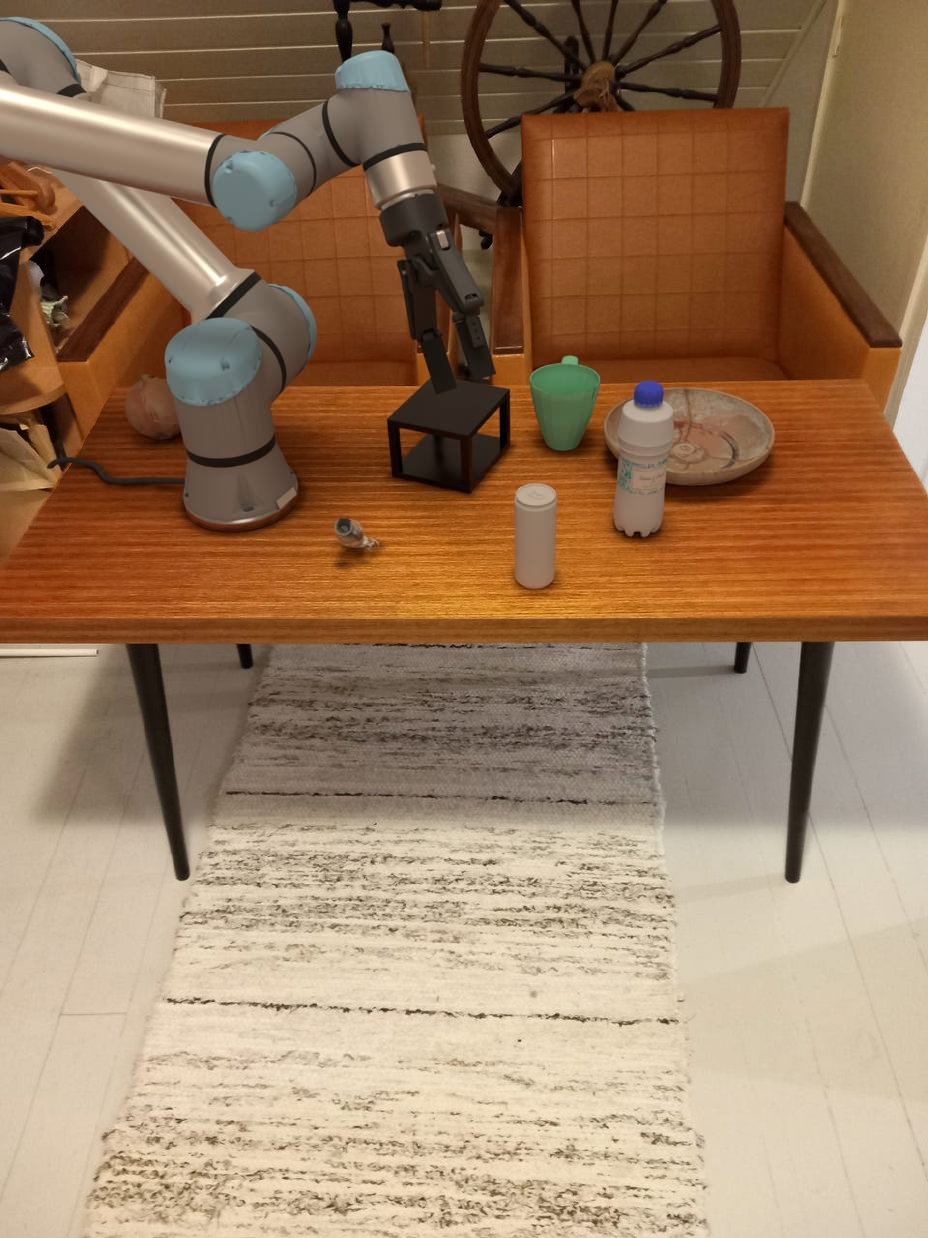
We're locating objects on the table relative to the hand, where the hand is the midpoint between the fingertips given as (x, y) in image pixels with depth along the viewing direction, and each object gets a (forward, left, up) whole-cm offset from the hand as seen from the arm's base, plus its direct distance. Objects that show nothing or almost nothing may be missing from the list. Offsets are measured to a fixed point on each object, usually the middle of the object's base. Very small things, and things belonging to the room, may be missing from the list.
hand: (464, 385), depth 117 cm
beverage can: (+13, -9, -19) cm, 25 cm away
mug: (+4, +25, -19) cm, 32 cm away
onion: (-52, +3, -19) cm, 56 cm away
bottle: (+21, +6, -19) cm, 29 cm away
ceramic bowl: (+22, +25, -19) cm, 38 cm away
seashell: (-10, -13, -19) cm, 25 cm away
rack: (-8, +12, -19) cm, 24 cm away
